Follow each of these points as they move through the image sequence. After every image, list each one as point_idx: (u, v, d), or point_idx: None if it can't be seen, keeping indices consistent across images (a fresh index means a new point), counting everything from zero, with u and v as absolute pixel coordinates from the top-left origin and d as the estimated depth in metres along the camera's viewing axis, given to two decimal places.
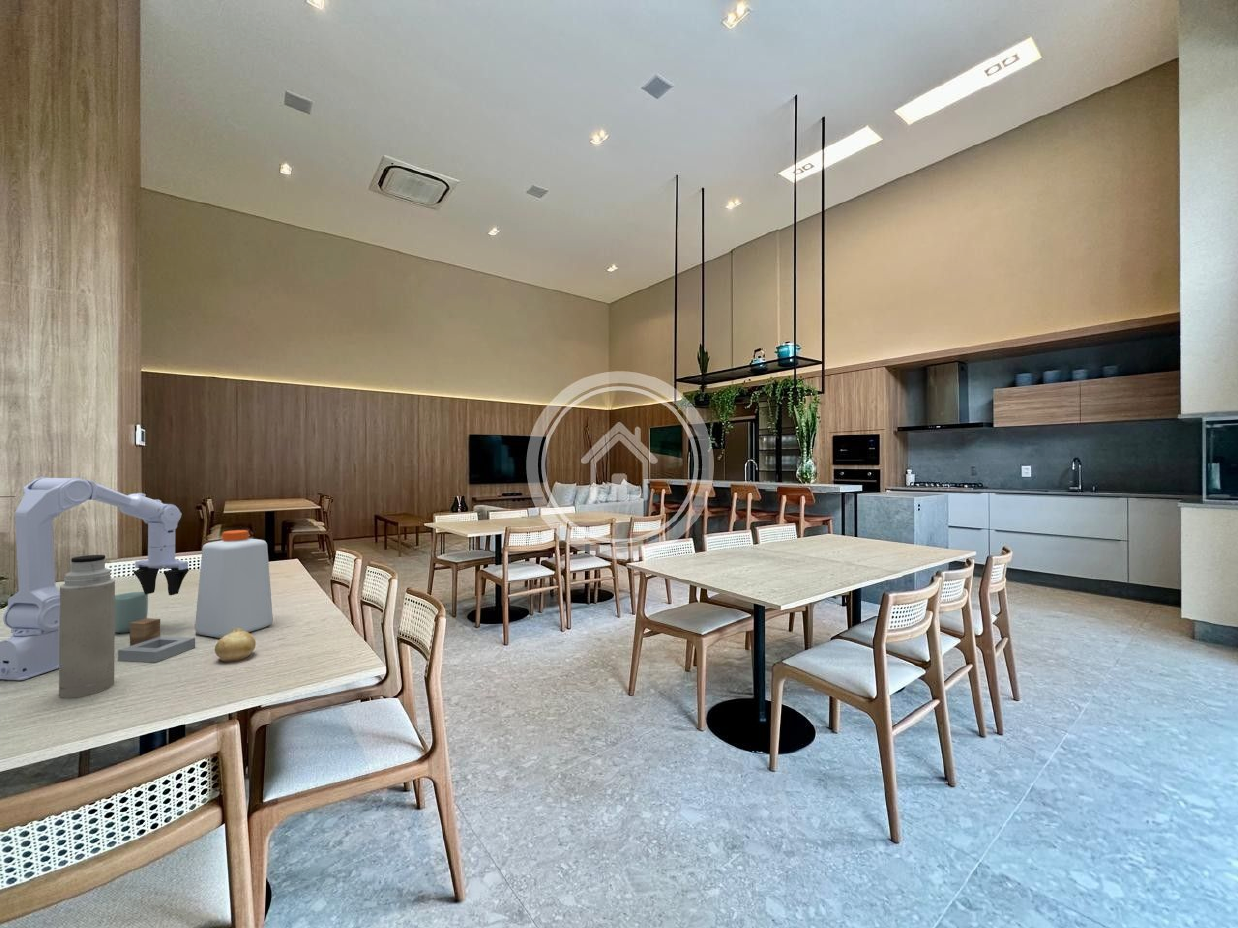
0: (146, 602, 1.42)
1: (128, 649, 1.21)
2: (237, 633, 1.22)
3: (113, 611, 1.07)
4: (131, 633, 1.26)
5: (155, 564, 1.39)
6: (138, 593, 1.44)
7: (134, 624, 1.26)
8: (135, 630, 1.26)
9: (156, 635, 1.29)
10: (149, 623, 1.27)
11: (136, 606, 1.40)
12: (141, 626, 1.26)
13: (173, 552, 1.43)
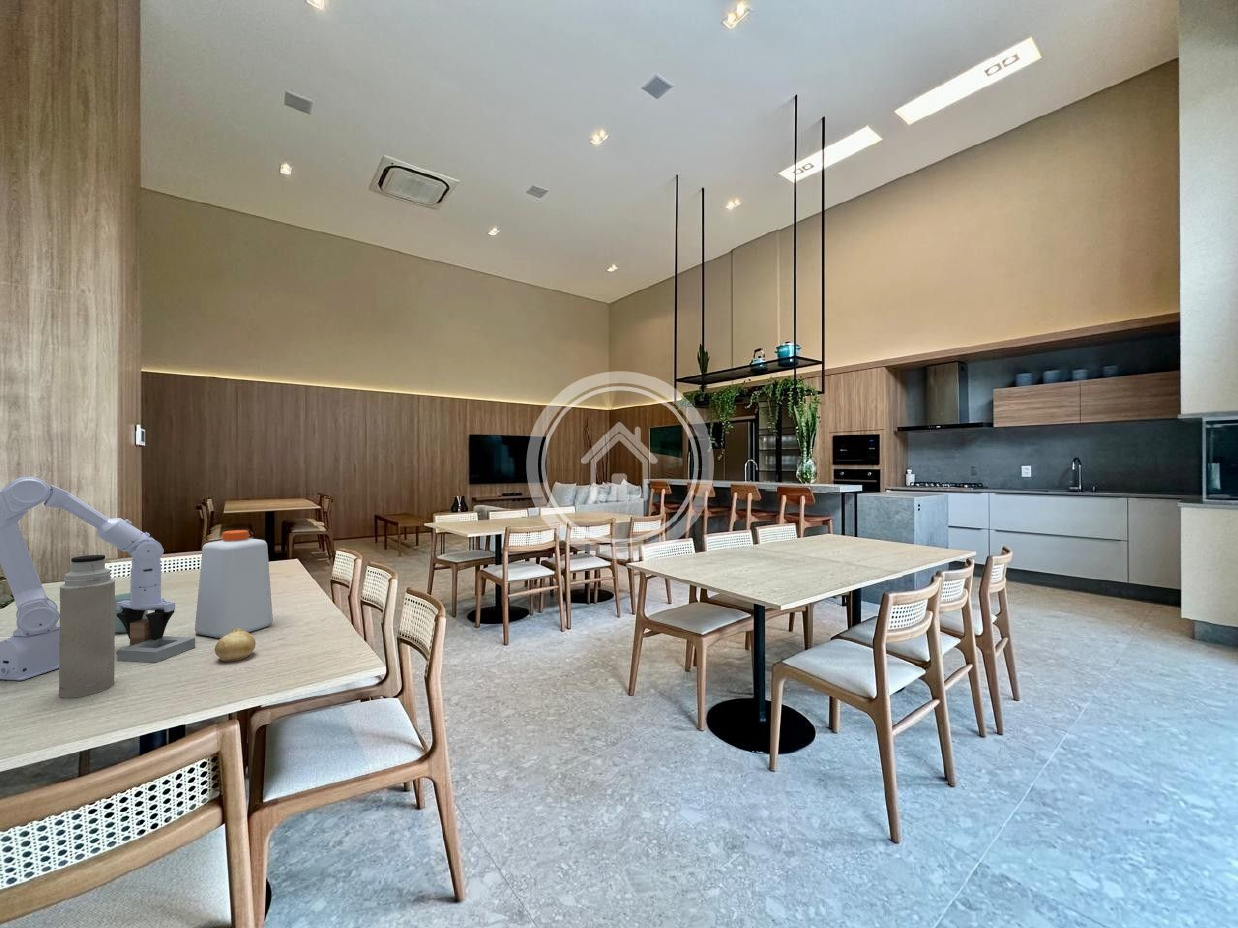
0: None
1: (128, 649, 1.21)
2: (237, 633, 1.22)
3: (113, 611, 1.07)
4: (131, 633, 1.26)
5: (138, 606, 1.25)
6: None
7: (134, 624, 1.26)
8: (135, 630, 1.26)
9: None
10: (149, 623, 1.27)
11: None
12: (141, 626, 1.26)
13: (159, 592, 1.29)
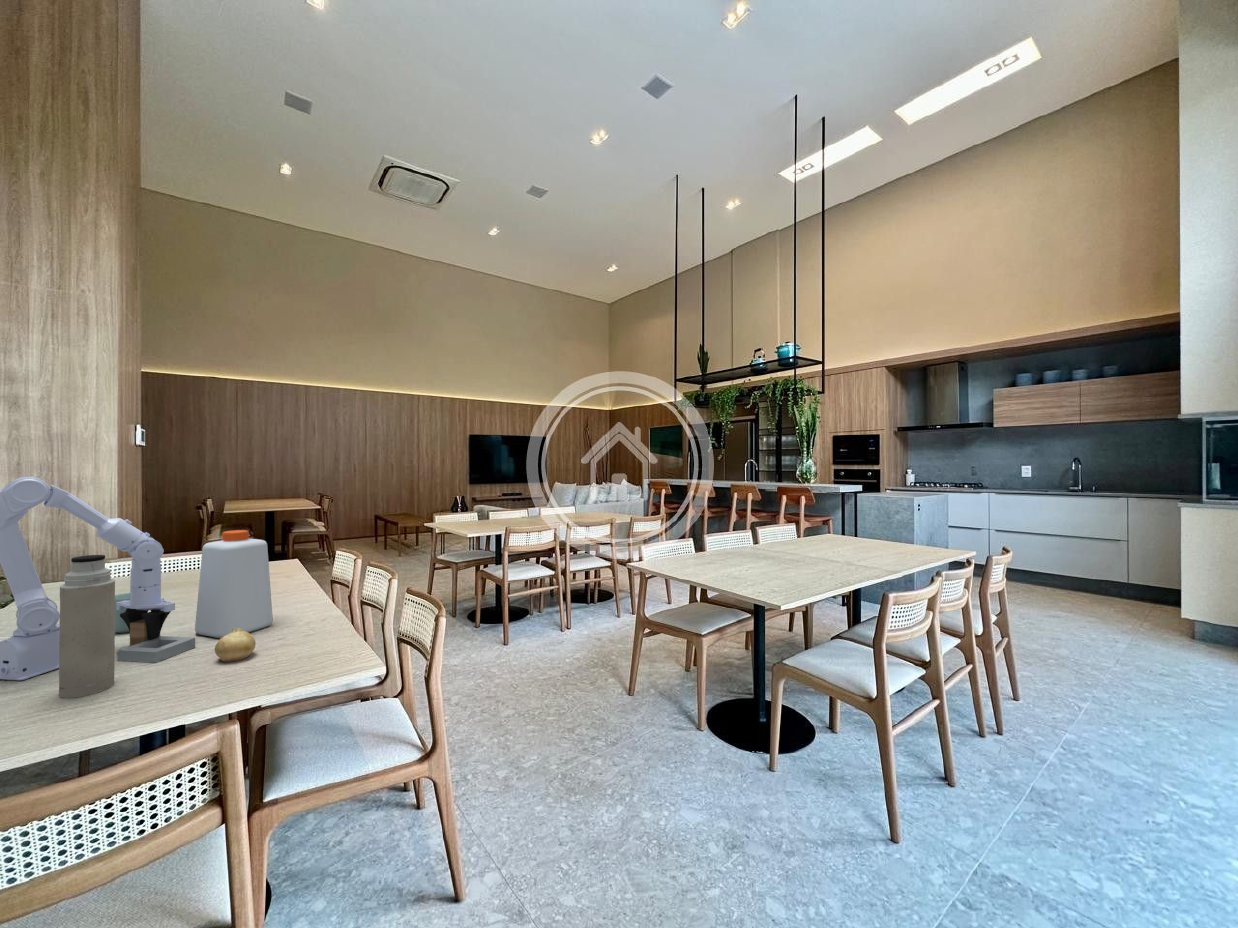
0: None
1: (128, 649, 1.21)
2: (237, 633, 1.22)
3: (113, 611, 1.07)
4: (131, 633, 1.26)
5: (138, 606, 1.25)
6: None
7: (134, 624, 1.26)
8: (135, 630, 1.26)
9: None
10: None
11: None
12: (141, 626, 1.26)
13: (158, 592, 1.29)
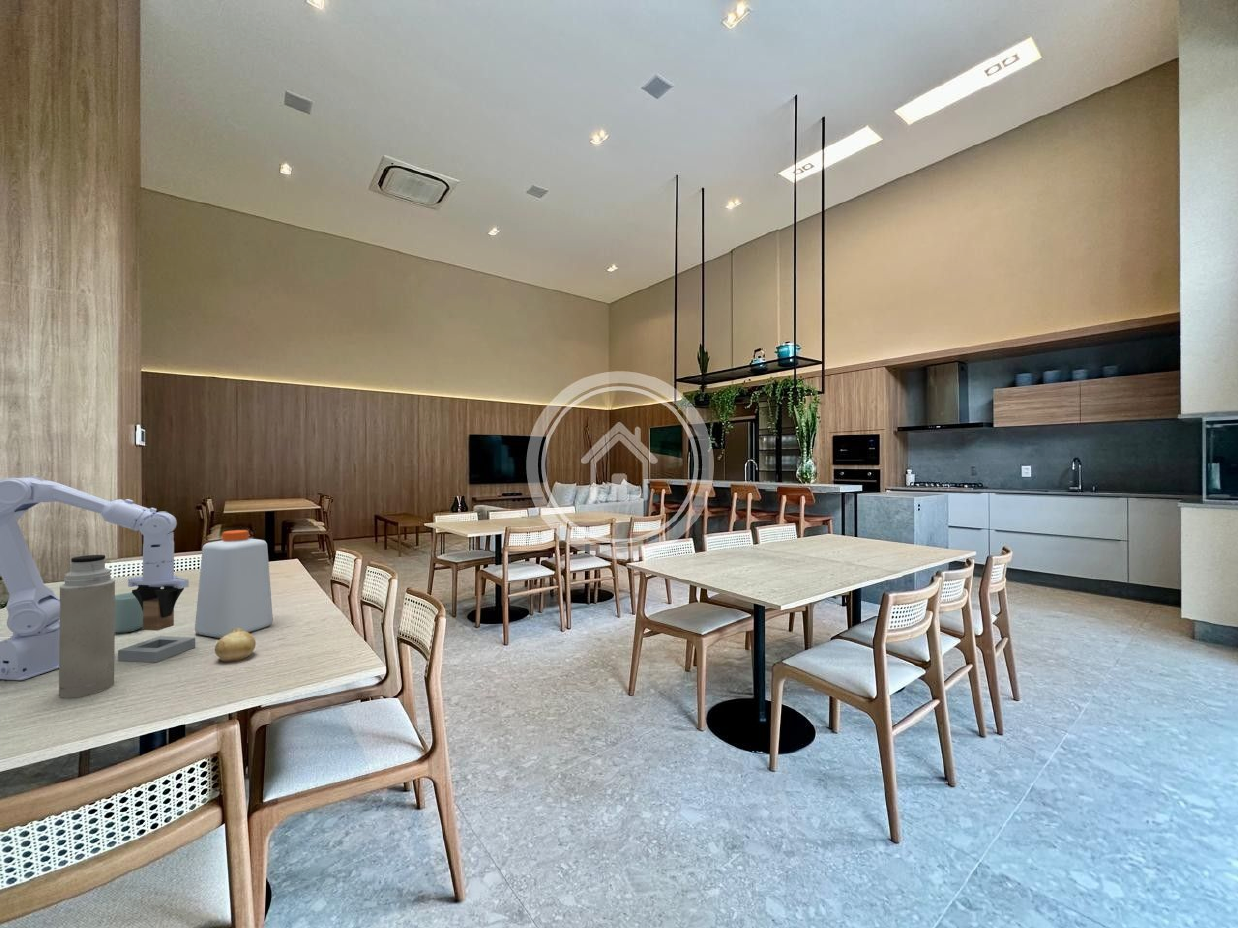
0: None
1: (128, 649, 1.21)
2: (237, 633, 1.22)
3: (113, 611, 1.07)
4: (144, 612, 1.23)
5: (151, 582, 1.22)
6: None
7: (147, 602, 1.23)
8: (149, 609, 1.23)
9: None
10: None
11: (136, 606, 1.40)
12: (155, 605, 1.23)
13: (171, 568, 1.25)
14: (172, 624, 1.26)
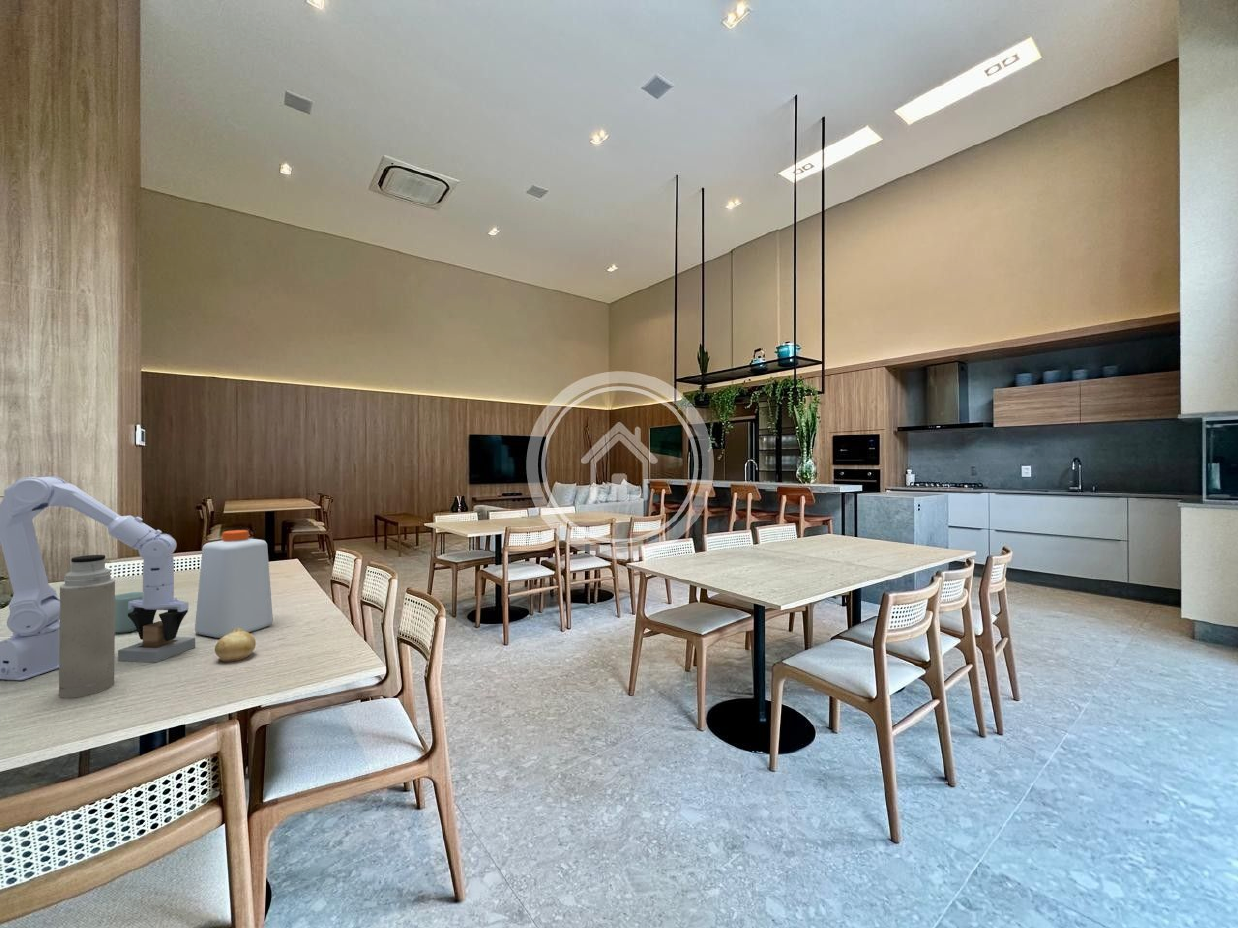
0: None
1: (128, 649, 1.21)
2: (237, 633, 1.22)
3: (113, 611, 1.07)
4: (144, 636, 1.23)
5: (151, 606, 1.22)
6: (138, 593, 1.44)
7: (147, 627, 1.23)
8: (148, 634, 1.23)
9: None
10: (162, 626, 1.24)
11: None
12: (154, 630, 1.23)
13: (171, 591, 1.25)
14: None
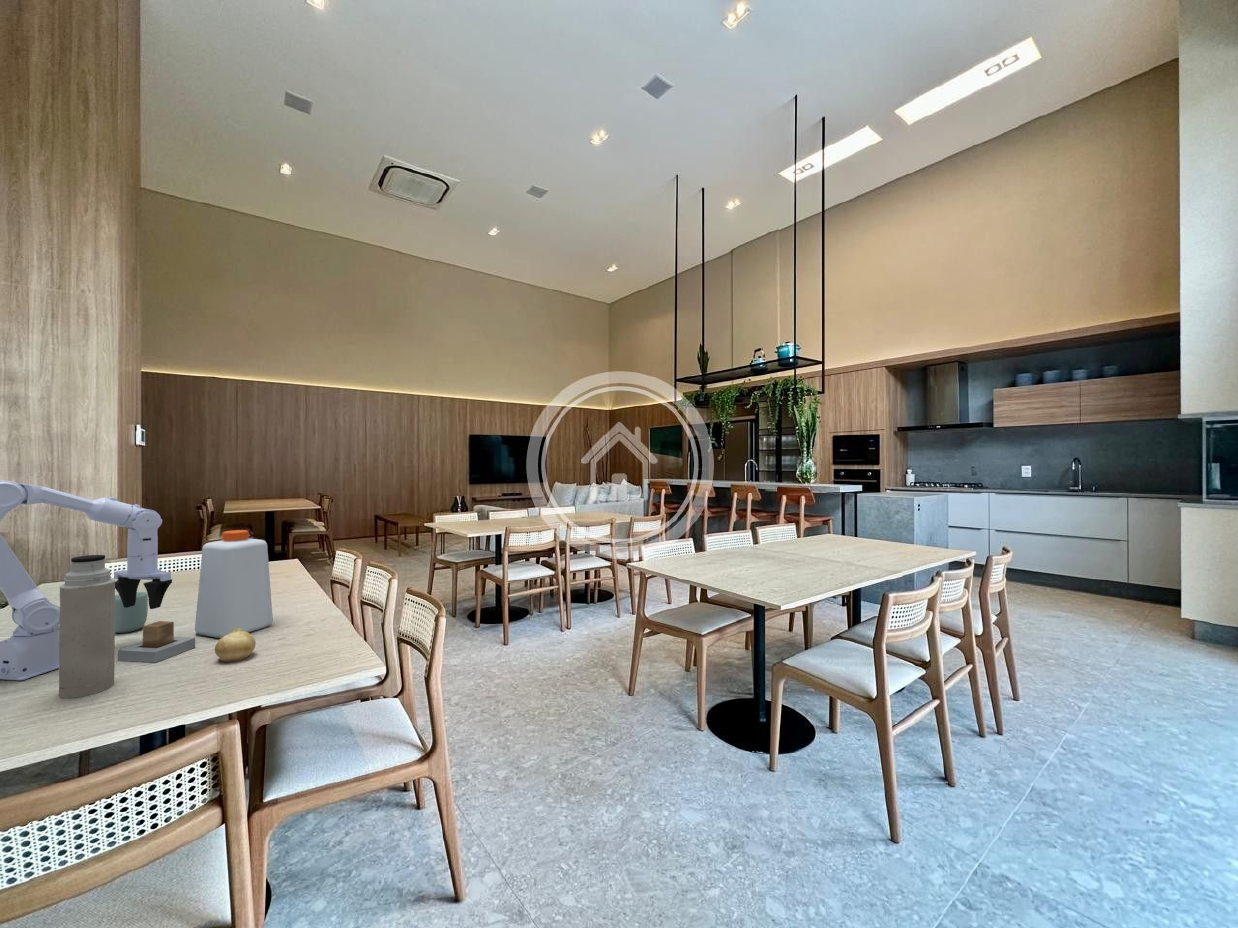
0: (146, 602, 1.42)
1: (128, 649, 1.21)
2: (237, 633, 1.22)
3: (113, 611, 1.07)
4: (144, 636, 1.23)
5: (135, 575, 1.27)
6: (138, 593, 1.44)
7: (147, 627, 1.23)
8: (148, 634, 1.23)
9: (169, 638, 1.25)
10: (162, 626, 1.24)
11: (136, 606, 1.40)
12: (154, 630, 1.23)
13: (155, 561, 1.30)
14: None
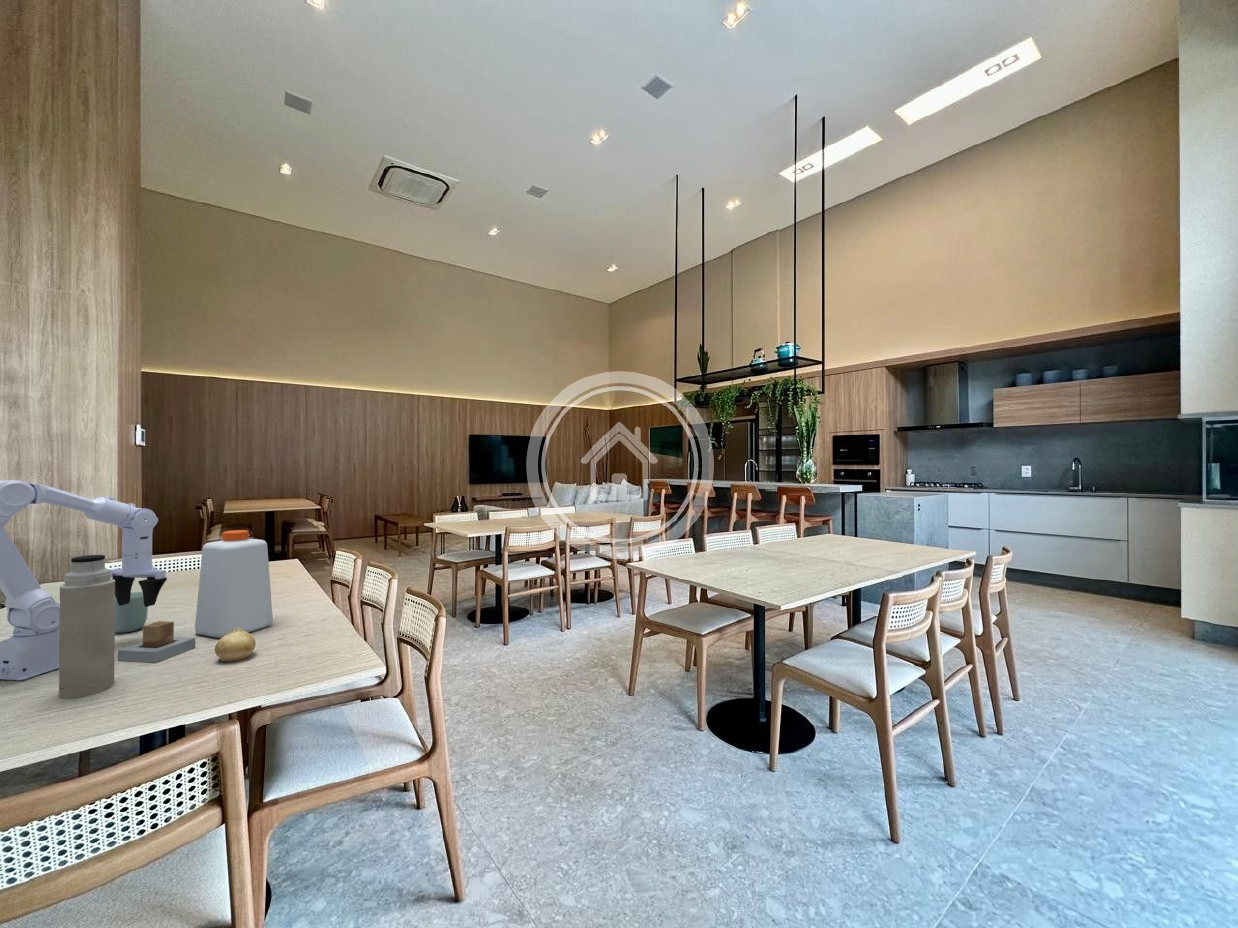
0: None
1: (128, 649, 1.21)
2: (237, 633, 1.22)
3: (113, 611, 1.07)
4: (144, 636, 1.23)
5: (129, 573, 1.29)
6: (138, 593, 1.44)
7: (147, 627, 1.23)
8: (148, 634, 1.23)
9: (169, 638, 1.25)
10: (162, 626, 1.24)
11: (136, 606, 1.40)
12: (154, 630, 1.23)
13: (149, 560, 1.32)
14: None
